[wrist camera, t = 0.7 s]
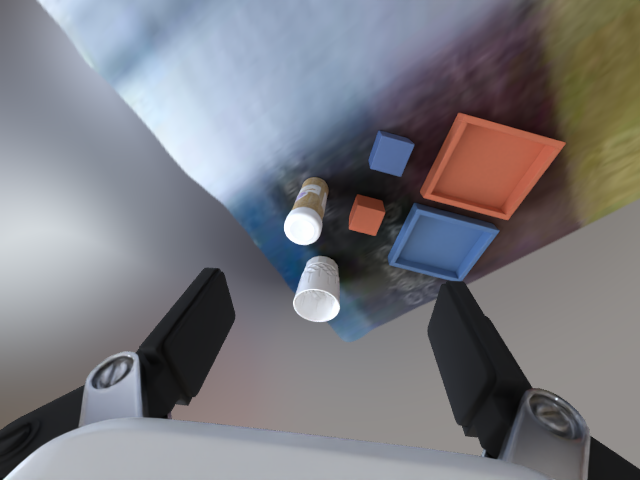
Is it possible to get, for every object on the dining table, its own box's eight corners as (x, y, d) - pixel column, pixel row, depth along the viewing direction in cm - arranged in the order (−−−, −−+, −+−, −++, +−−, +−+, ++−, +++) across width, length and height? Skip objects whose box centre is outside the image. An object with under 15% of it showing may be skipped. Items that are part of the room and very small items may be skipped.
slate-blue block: (378, 130, 35) (381, 135, 31) (408, 138, 35) (414, 144, 31) (368, 160, 37) (370, 168, 34) (395, 167, 37) (400, 177, 34)
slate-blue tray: (414, 202, 40) (417, 208, 38) (492, 223, 41) (500, 230, 38) (387, 256, 46) (389, 265, 44) (455, 274, 47) (460, 283, 45)
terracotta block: (356, 193, 40) (357, 204, 37) (382, 200, 40) (385, 212, 37) (349, 216, 43) (348, 229, 39) (373, 223, 43) (375, 236, 39)
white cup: (308, 248, 47) (299, 283, 39) (347, 259, 48) (346, 297, 39) (298, 277, 51) (288, 314, 43) (334, 287, 52) (331, 326, 44)
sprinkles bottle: (312, 170, 39) (297, 206, 28) (334, 188, 40) (328, 229, 29) (296, 191, 41) (276, 232, 30) (317, 207, 42) (306, 252, 31)
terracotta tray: (458, 112, 33) (465, 114, 31) (553, 139, 33) (566, 142, 31) (419, 191, 39) (423, 197, 37) (499, 213, 40) (507, 220, 37)
